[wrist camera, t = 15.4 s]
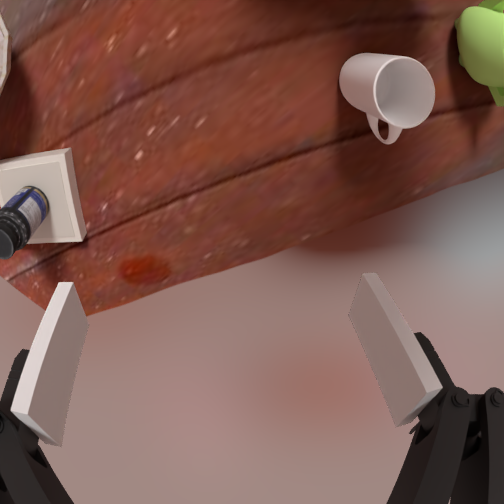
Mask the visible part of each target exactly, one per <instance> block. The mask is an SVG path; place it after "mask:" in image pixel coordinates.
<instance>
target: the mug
mask: <svg viewBox="0 0 504 504" xmlns="http://www.w3.org/2000/svg"><path fill="white" fill-rule="evenodd" d="M339 84H340V89H341V92H342V94H343V96H344V97H345V99H346V100H347V101H348V102H349V103H350V104H351V105H352V106H354V107H355V108H357V109H359V110H361V111H363V112H366V115H367V119H368V122H369V125H370V127H371V129H372V131H373V133H374V134H375V136H376V137H377V138H378V139H379V140H380V141H381V142H383V143H384V144H392V143H394V142H395V141H396V140H397V138H398V137H399V135H400V133H401V131H402V129H403V128H404V129H405V128H412V127H415V126H417V125H419V124H421V123H422V122H423V121H424V120H425V119H426V118H427V117H428V115H429V114H430V112H431V110H432V108H433V105H434V100H435V88H434V83H433V80H432V77H431V75H430V73H429V72H428V70H427V69H426V68H425V67H424V66H423V65H422V64H421V63H420V62H418V61H417V60H415V59H413V58H410V57H405V56H397V55H387V54H376V53H361V54H357V55H355V56H352V57H351V58H349V59H348V60H347V61H346V62H345V64H344V65H343V67H342V69H341V72H340V76H339ZM378 119H381V120H383V121H384V122H387V123H388V125H389V135H388V138H387V140H384V139H382V138H381V136H380V134H379V131H378Z"/></svg>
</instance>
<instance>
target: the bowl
mask: <svg viewBox="0 0 504 504" xmlns="http://www.w3.org/2000/svg"><path fill="white" fill-rule="evenodd" d="M11 50H12V36H11V34H10V32H9V29H8V27H7V25H6V22H5V20H4V18H3V15H2V13H1V12H0V95H1V92H2V90H3V87H4V85H5V82H6V80H7V77H8V75H9V73H10V70H11Z"/></svg>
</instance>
